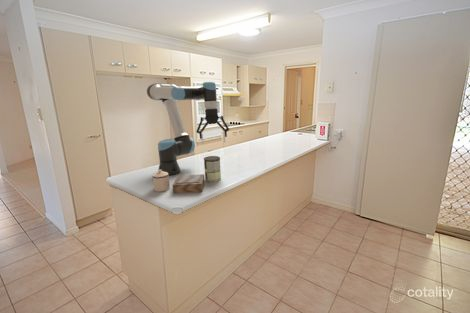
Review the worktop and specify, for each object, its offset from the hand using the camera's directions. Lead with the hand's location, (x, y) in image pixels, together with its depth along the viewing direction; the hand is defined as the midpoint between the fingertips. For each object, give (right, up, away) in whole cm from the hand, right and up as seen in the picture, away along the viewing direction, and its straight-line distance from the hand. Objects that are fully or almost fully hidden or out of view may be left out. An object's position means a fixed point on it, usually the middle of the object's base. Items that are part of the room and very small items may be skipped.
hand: (213, 143), depth 144 cm
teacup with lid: (-30, -27, -9) cm, 42 cm away
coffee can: (-1, -23, +5) cm, 24 cm away
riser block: (-13, -27, -8) cm, 31 cm away
